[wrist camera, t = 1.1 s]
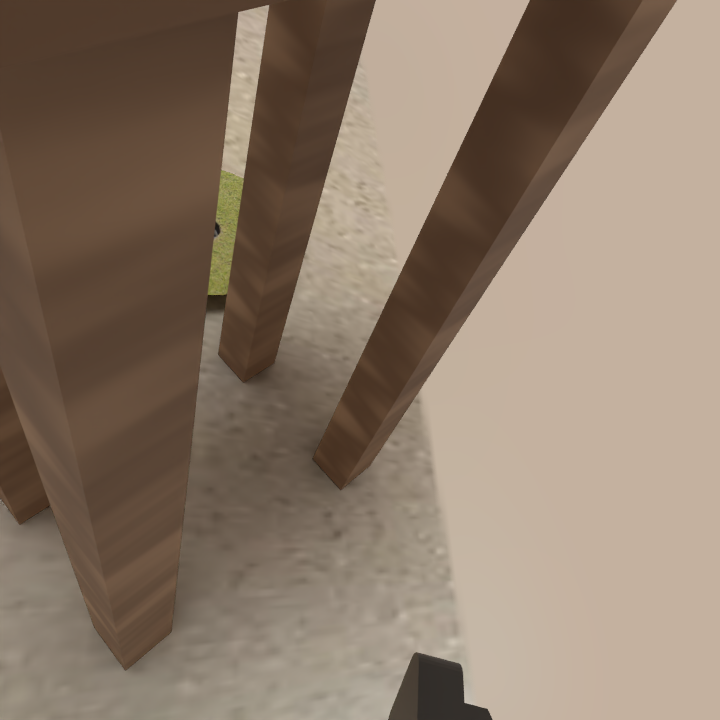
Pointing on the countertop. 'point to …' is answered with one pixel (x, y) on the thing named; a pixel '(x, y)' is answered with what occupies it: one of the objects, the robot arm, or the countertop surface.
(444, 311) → the walnut stand
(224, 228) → the green flat disc
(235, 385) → the countertop surface
